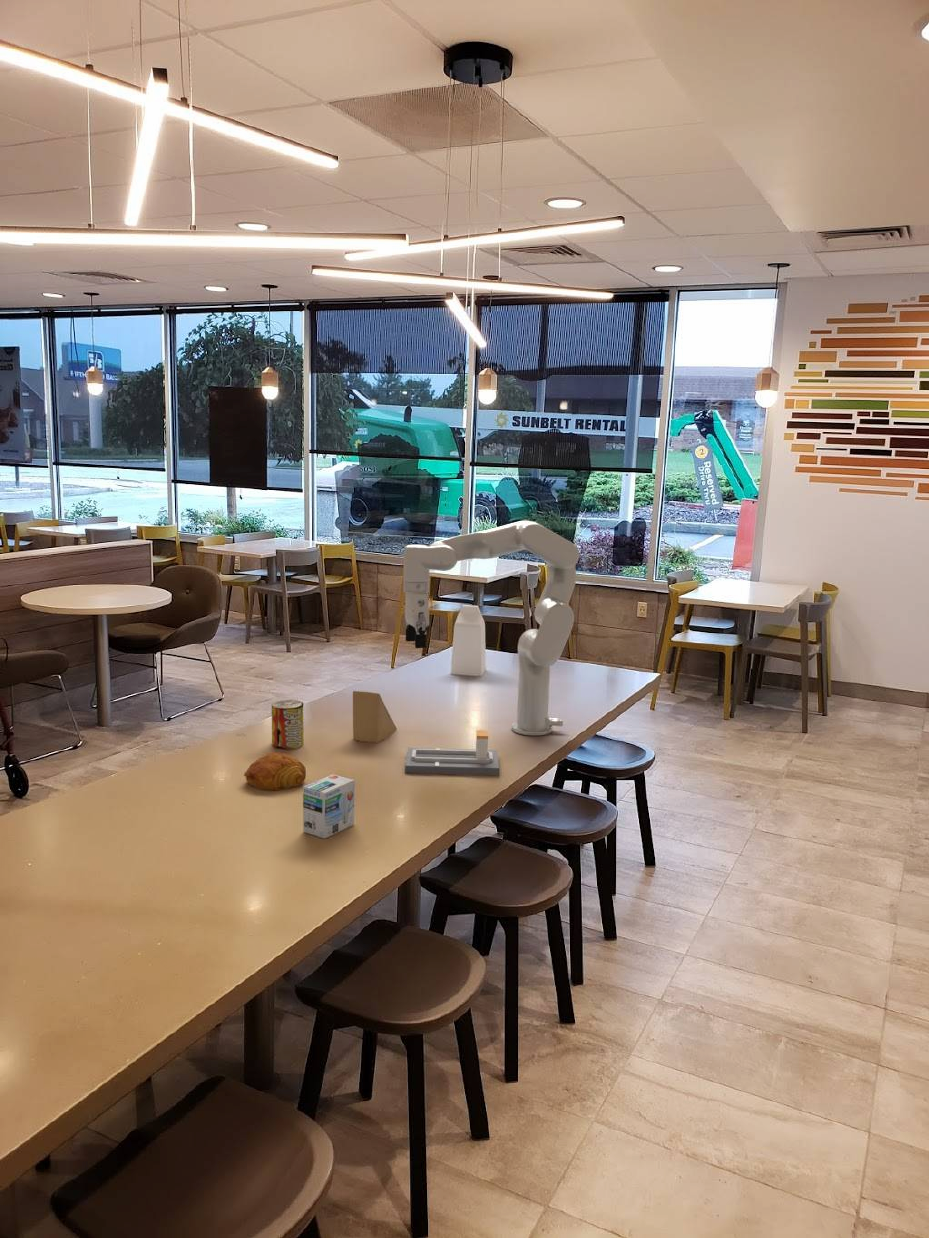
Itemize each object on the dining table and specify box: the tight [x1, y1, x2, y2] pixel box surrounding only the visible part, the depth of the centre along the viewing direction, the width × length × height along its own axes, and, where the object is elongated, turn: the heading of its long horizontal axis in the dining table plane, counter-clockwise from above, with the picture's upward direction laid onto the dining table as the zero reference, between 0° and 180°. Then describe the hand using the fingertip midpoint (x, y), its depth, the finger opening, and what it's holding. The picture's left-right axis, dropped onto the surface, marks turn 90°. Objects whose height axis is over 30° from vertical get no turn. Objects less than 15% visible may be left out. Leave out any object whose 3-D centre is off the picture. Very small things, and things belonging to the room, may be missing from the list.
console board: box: [404, 747, 500, 776], centre depth 255 cm, size 25×15×3 cm, turn 90°
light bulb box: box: [302, 774, 356, 840], centre depth 210 cm, size 11×7×11 cm, turn 148°
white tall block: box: [450, 604, 487, 677], centre depth 360 cm, size 12×12×26 cm
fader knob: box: [475, 729, 489, 759], centre depth 254 cm, size 3×5×7 cm, turn 0°
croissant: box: [243, 751, 307, 791], centre depth 238 cm, size 14×16×8 cm
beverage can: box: [271, 699, 305, 750], centre depth 267 cm, size 9×9×12 cm
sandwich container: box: [352, 690, 398, 743], centre depth 279 cm, size 9×15×15 cm, turn 163°
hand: (415, 644), depth 275 cm, fingers open, 9 cm apart
